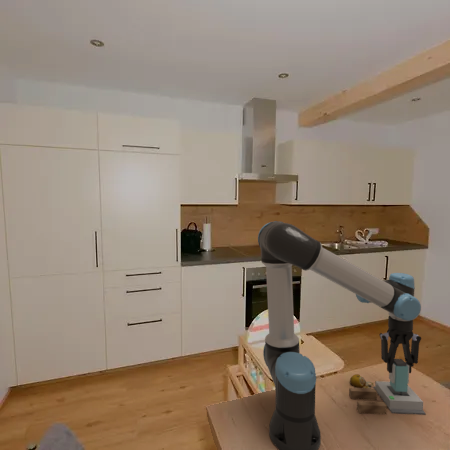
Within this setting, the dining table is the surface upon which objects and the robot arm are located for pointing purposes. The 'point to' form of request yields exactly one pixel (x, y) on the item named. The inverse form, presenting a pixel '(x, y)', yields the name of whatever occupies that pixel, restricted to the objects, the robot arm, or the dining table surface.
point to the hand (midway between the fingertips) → (398, 380)
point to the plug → (400, 376)
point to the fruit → (359, 381)
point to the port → (399, 399)
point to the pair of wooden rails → (367, 406)
